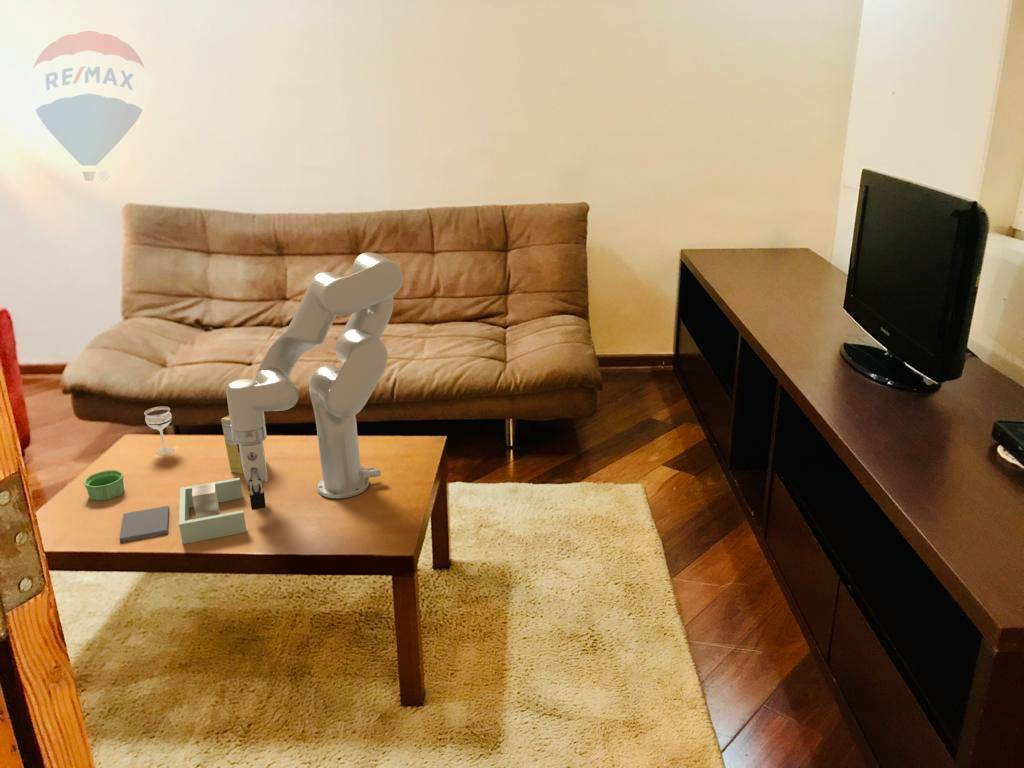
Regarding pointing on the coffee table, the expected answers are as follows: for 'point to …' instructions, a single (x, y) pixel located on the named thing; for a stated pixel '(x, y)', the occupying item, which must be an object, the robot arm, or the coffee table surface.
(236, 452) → the candy box
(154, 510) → the charcoal mat
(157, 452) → the wineglass
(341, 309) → the robot arm
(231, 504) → the coffee table surface
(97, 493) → the ramekin
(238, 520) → the u-shaped bracket
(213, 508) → the beige block
